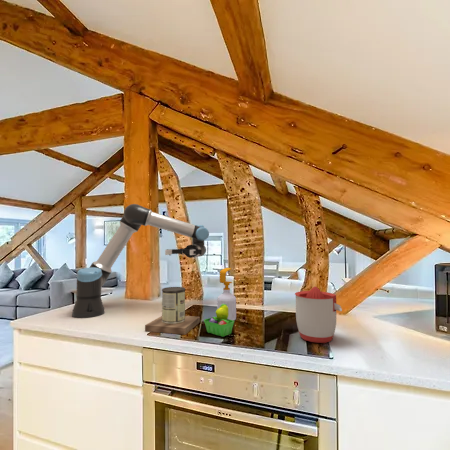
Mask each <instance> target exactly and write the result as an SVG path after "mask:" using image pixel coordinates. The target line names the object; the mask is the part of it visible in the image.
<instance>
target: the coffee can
mask: <svg viewBox="0 0 450 450" xmlns="http://www.w3.org/2000/svg"><path fill="white" fill-rule="evenodd" d="M161 291H162V293H161V312H162V314H161V316H162V322H163V323H166V324H176V323H181V322H184V321H185V316H186V287H182V286H168V287H164V288H162V289H161Z"/></svg>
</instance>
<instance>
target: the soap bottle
mask: <svg viewBox="0 0 450 450" xmlns="http://www.w3.org/2000/svg"><path fill="white" fill-rule="evenodd" d="M231 270H232V267H224V268H223V269H221V270H220V271H219V283H220V284H223V285H224V287H223V289H222V290H223V291H222V292H223V293H221V294H219V295H218V297H217V300H216V301H217V303H216V305H217V309H218V308H220V306H221V305H222V304H226V305H227V307H228V314H229V315H228V318H227V319H229V320H233V321H234V322H235V321H236V319H237V297H236V296H235V295H234V294H232V293H231V288H230V287H229V286H230V284H233V282H232V281H226V280H227V272H230V271H231ZM217 309H216V310H217Z"/></svg>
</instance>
